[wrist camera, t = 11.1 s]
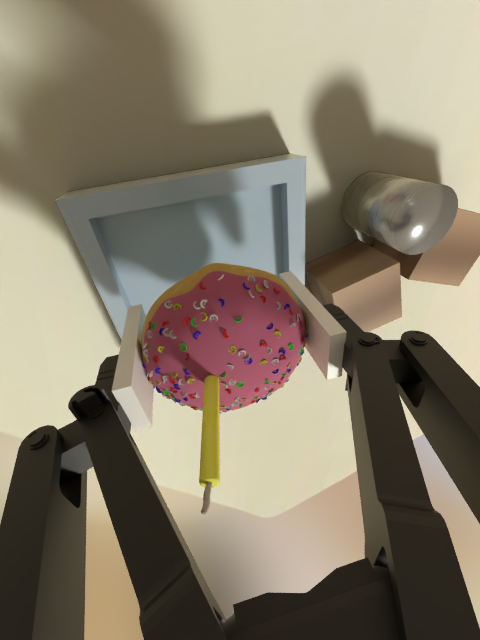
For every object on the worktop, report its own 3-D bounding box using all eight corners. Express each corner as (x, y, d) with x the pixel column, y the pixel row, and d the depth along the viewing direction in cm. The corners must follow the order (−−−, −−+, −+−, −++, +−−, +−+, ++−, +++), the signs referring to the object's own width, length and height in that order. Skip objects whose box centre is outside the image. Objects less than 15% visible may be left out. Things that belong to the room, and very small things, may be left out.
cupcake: (163, 363, 20) (163, 580, 10) (125, 249, 15) (59, 454, 6) (277, 339, 21) (374, 513, 12) (277, 225, 16) (441, 361, 7)
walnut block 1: (302, 265, 23) (332, 293, 19) (358, 239, 23) (399, 262, 19) (315, 310, 26) (342, 343, 22) (364, 287, 26) (401, 316, 22)
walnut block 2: (395, 192, 22) (449, 206, 18) (443, 204, 23) (503, 219, 19) (367, 254, 24) (408, 279, 20) (411, 261, 26) (458, 286, 22)
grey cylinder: (344, 176, 20) (402, 191, 15) (395, 167, 20) (467, 178, 16) (339, 232, 22) (388, 260, 17) (385, 222, 23) (446, 247, 18)
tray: (67, 191, 17) (54, 200, 15) (290, 153, 18) (305, 156, 16) (143, 361, 25) (141, 382, 23) (293, 325, 26) (304, 341, 24)
